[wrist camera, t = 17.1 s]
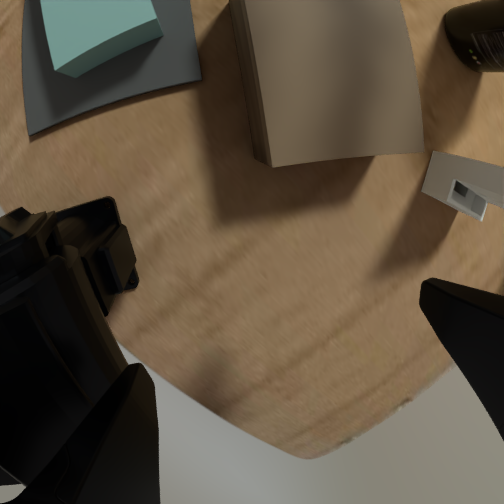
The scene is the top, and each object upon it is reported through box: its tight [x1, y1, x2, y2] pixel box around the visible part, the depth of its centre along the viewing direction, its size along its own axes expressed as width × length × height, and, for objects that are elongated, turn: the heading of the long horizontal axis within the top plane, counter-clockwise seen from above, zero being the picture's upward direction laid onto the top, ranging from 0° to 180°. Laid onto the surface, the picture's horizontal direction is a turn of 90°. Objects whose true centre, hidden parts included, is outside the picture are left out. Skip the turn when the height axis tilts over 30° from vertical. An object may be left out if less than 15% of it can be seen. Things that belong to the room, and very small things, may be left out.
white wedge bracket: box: [421, 151, 504, 222], centre depth 17 cm, size 4×10×9 cm, turn 74°
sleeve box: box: [229, 0, 424, 168], centre depth 13 cm, size 9×11×5 cm
